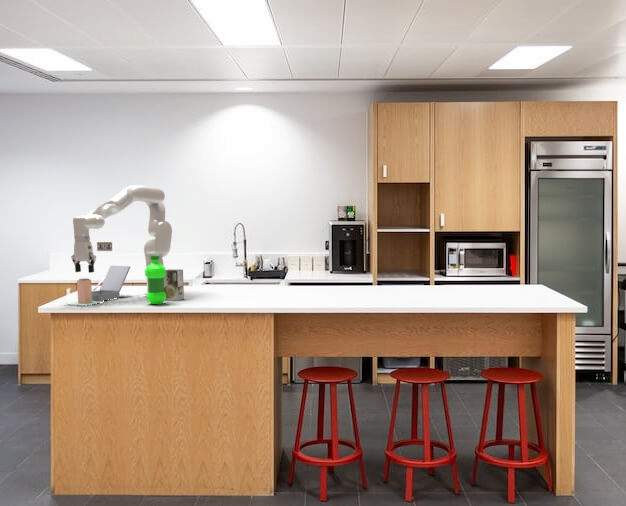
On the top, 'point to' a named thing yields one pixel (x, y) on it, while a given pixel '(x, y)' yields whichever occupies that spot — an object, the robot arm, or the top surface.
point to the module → (84, 291)
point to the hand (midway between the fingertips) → (84, 272)
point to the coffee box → (174, 284)
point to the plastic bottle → (155, 281)
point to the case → (111, 283)
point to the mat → (83, 304)
